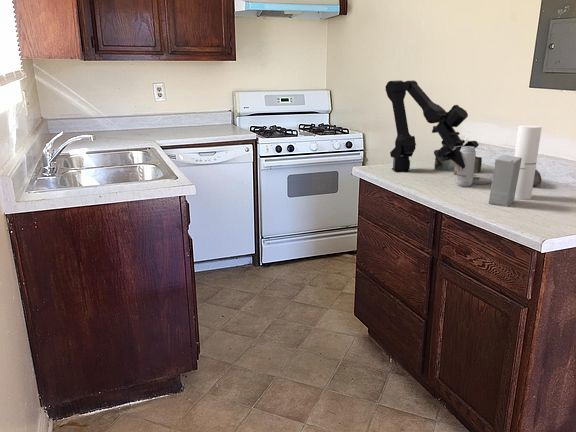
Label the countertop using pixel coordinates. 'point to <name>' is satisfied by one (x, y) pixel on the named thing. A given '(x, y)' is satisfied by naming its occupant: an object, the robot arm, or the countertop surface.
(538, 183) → the perforated stone tool
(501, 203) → the skincare box
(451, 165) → the beverage carton
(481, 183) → the coaster
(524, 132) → the cylindrical container
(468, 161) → the energy drink can
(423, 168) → the countertop surface
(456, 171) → the walnut block
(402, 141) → the robot arm
